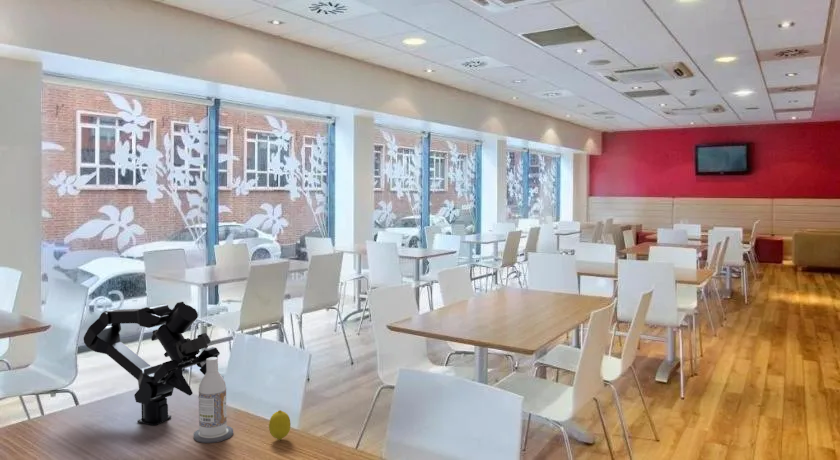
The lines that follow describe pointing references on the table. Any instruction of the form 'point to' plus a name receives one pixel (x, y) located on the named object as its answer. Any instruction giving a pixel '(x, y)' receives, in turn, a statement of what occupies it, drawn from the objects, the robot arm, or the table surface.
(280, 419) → the lemon
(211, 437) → the dock pad
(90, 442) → the table surface
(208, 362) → the bath foam
